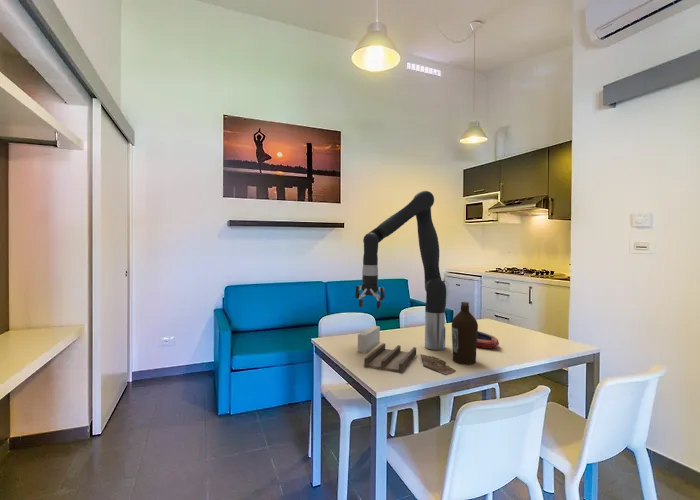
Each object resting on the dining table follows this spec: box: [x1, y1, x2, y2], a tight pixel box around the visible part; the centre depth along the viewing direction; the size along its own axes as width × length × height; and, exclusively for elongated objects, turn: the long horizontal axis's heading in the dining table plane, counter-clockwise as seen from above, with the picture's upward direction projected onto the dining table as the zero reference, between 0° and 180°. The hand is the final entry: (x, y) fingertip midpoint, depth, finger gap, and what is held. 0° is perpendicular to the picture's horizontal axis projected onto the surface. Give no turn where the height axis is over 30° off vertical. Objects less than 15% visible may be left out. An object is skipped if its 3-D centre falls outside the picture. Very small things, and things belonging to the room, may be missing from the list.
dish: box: [477, 330, 500, 349], centre depth 180 cm, size 16×31×5 cm, turn 17°
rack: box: [363, 343, 417, 374], centre depth 150 cm, size 16×24×4 cm, turn 157°
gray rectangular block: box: [357, 325, 381, 354], centre depth 171 cm, size 4×20×8 cm, turn 157°
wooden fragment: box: [419, 353, 457, 376], centre depth 147 cm, size 26×11×1 cm, turn 8°
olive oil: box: [451, 301, 479, 365], centre depth 150 cm, size 11×11×25 cm
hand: (369, 307), depth 171 cm, fingers open, 8 cm apart
